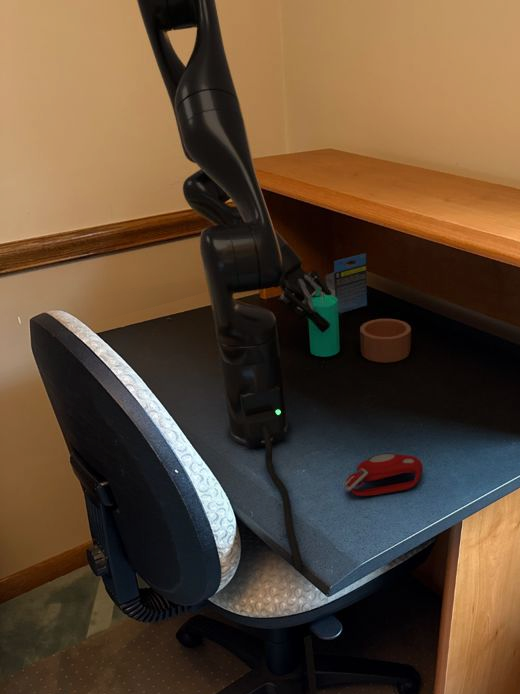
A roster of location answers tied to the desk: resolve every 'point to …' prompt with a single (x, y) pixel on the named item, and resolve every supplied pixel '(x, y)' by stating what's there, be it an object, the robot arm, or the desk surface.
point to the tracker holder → (384, 473)
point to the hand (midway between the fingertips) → (332, 323)
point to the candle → (329, 339)
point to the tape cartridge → (349, 283)
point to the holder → (385, 340)
